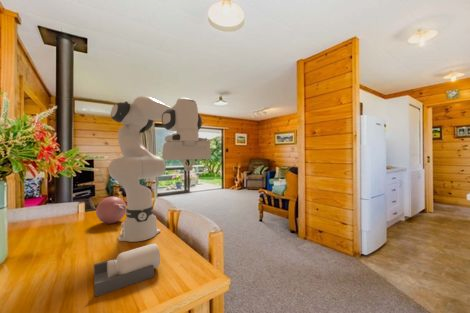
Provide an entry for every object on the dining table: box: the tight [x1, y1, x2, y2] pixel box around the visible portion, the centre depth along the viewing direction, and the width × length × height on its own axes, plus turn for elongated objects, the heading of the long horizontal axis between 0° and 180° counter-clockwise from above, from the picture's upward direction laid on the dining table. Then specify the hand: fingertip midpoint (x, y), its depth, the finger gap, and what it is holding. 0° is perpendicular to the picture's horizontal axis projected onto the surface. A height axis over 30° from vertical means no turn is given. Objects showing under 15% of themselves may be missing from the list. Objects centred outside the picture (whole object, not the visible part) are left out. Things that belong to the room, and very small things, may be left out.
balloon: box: [95, 196, 127, 224], centre depth 121 cm, size 15×20×15 cm
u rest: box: [93, 258, 155, 297], centre depth 68 cm, size 13×16×4 cm
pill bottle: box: [106, 243, 161, 278], centre depth 69 cm, size 8×8×15 cm
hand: (188, 170), depth 86 cm, fingers closed
